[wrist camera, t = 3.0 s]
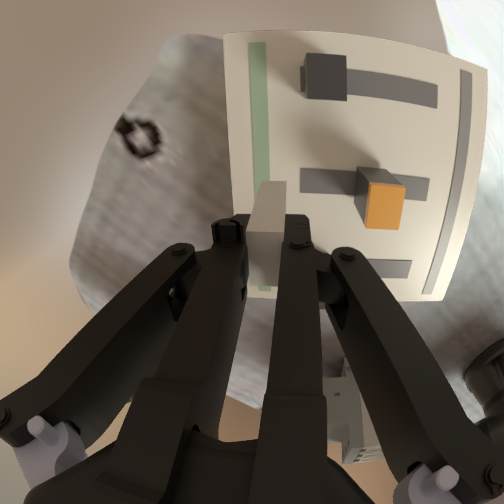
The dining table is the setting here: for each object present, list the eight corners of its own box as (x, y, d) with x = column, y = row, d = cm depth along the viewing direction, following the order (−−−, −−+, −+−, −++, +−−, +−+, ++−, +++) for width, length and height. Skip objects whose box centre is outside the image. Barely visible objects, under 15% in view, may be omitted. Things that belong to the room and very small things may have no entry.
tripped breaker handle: (385, 168, 20) (405, 188, 16) (381, 204, 21) (398, 230, 17) (356, 166, 20) (371, 184, 16) (353, 202, 22) (365, 228, 18)
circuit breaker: (303, 358, 40) (299, 450, 28) (395, 352, 38) (412, 439, 25) (303, 384, 44) (299, 465, 31) (385, 379, 41) (396, 457, 29)
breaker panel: (460, 69, 18) (514, 70, 10) (427, 274, 30) (454, 326, 22) (235, 43, 21) (207, 22, 13) (247, 268, 33) (233, 324, 25)
